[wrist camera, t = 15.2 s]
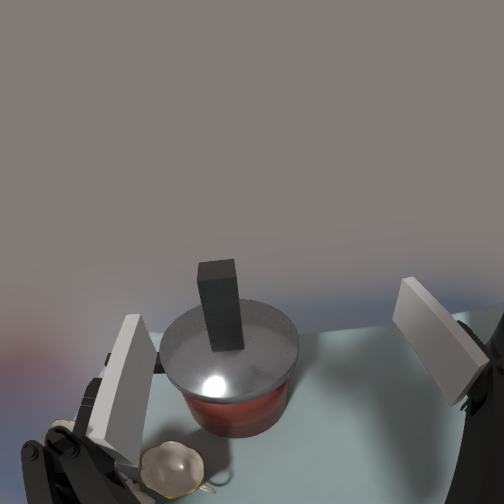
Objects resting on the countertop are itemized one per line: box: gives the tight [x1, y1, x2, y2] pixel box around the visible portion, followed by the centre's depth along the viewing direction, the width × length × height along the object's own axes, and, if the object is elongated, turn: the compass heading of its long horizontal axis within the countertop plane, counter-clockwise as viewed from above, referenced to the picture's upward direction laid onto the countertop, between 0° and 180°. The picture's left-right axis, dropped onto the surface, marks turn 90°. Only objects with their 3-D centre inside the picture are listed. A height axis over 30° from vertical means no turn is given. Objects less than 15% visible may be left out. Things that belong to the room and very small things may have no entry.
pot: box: [105, 352, 288, 439], centre depth 36 cm, size 27×17×12 cm, turn 97°
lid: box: [159, 259, 299, 405], centre depth 31 cm, size 18×18×12 cm
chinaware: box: [43, 419, 216, 504], centre depth 19 cm, size 28×17×17 cm, turn 96°
